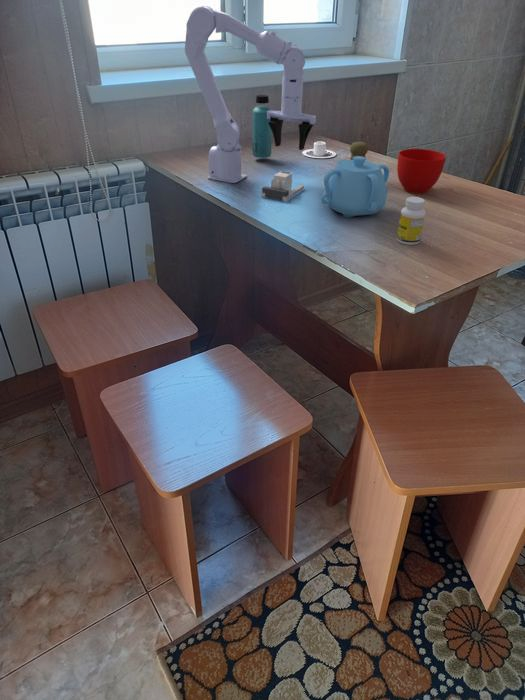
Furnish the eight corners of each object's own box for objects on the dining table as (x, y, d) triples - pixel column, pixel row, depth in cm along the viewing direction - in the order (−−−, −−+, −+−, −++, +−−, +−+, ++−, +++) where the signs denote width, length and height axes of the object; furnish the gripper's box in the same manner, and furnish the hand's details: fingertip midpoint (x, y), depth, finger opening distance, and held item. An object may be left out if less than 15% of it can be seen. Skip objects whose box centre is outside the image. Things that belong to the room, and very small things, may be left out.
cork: (364, 184, 154) (369, 145, 147) (344, 182, 155) (348, 144, 148) (365, 178, 158) (370, 140, 152) (346, 176, 159) (350, 139, 153)
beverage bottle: (274, 159, 174) (276, 94, 162) (264, 164, 169) (265, 97, 158) (258, 156, 177) (259, 92, 165) (248, 160, 172) (248, 95, 161)
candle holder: (302, 150, 186) (303, 137, 183) (336, 151, 185) (337, 139, 182) (301, 159, 176) (302, 146, 174) (336, 160, 175) (337, 147, 173)
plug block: (273, 195, 144) (273, 174, 141) (280, 190, 148) (280, 170, 144) (284, 197, 143) (285, 176, 140) (291, 192, 146) (292, 172, 143)
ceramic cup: (452, 187, 152) (460, 152, 147) (424, 200, 142) (432, 163, 137) (413, 177, 160) (419, 144, 154) (384, 189, 149) (390, 154, 144)
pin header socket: (261, 196, 143) (261, 180, 140) (279, 185, 151) (280, 169, 149) (286, 201, 140) (287, 185, 137) (304, 189, 149) (305, 173, 146)
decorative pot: (311, 213, 133) (315, 159, 125) (336, 196, 144) (341, 145, 136) (371, 226, 126) (379, 170, 119) (392, 207, 138) (400, 154, 130)
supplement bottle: (393, 236, 121) (400, 195, 116) (415, 236, 122) (423, 195, 116) (400, 245, 117) (407, 203, 111) (423, 245, 117) (432, 203, 112)
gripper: (321, 96, 143) (317, 147, 151) (275, 92, 148) (273, 141, 156) (311, 100, 138) (308, 153, 146) (263, 95, 143) (263, 146, 151)
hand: (289, 147), depth 150 cm, fingers open, 7 cm apart
